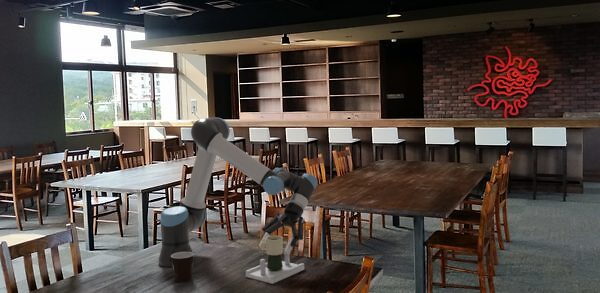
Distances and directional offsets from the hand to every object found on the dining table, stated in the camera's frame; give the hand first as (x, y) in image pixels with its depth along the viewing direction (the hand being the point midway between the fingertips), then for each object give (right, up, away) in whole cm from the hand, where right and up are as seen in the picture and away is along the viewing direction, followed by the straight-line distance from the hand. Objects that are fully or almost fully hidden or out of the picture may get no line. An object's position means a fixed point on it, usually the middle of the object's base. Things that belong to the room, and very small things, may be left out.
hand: (273, 250), depth 212 cm
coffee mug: (-35, -11, -2) cm, 37 cm away
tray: (+1, -10, +2) cm, 10 cm away
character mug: (0, -8, +2) cm, 9 cm away
